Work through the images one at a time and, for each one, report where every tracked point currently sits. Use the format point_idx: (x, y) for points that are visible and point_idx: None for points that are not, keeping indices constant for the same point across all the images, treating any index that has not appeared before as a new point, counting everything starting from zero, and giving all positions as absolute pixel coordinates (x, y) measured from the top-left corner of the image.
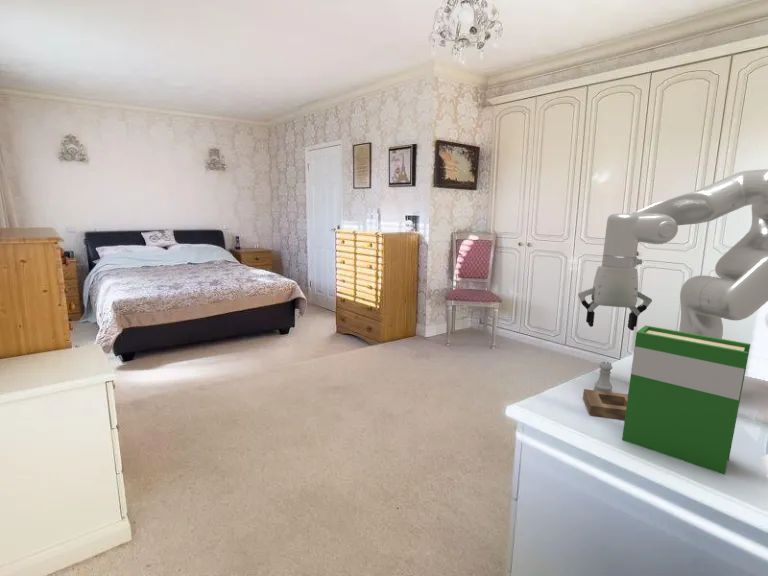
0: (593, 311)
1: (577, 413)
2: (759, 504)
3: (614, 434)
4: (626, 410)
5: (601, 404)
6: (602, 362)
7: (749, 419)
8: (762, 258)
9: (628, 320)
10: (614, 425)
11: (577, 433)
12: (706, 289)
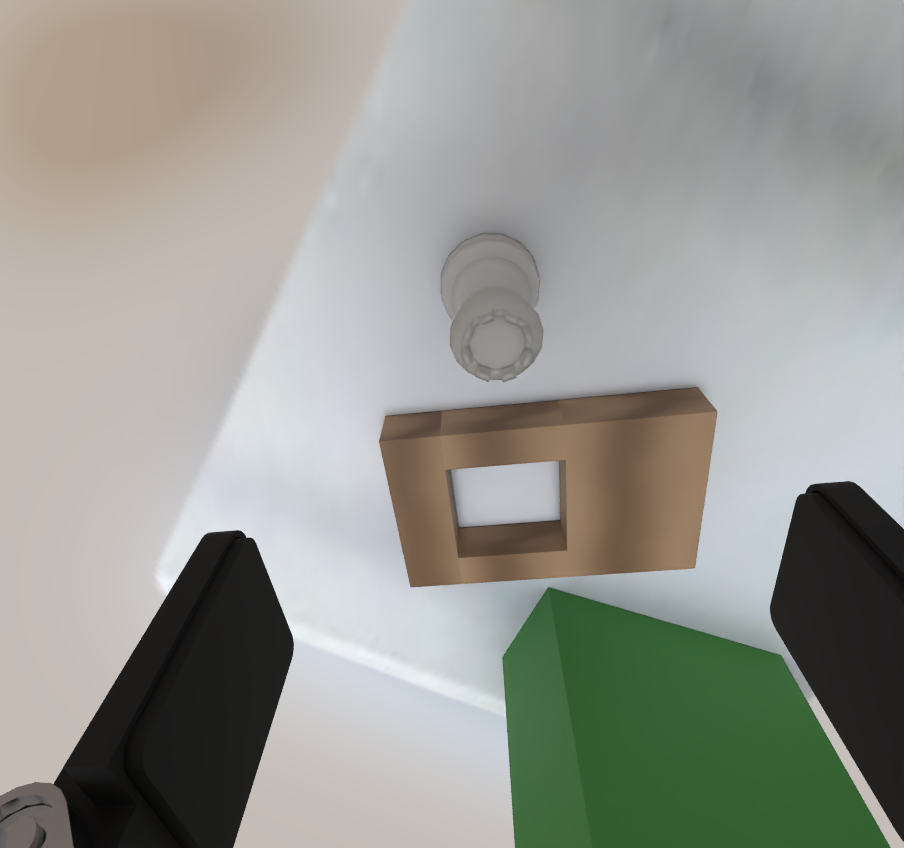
0: (181, 829)
1: (371, 555)
2: None
3: (485, 638)
4: (510, 756)
5: (452, 566)
6: (472, 335)
7: None
8: None
9: (872, 573)
10: (494, 591)
11: (378, 663)
12: None
